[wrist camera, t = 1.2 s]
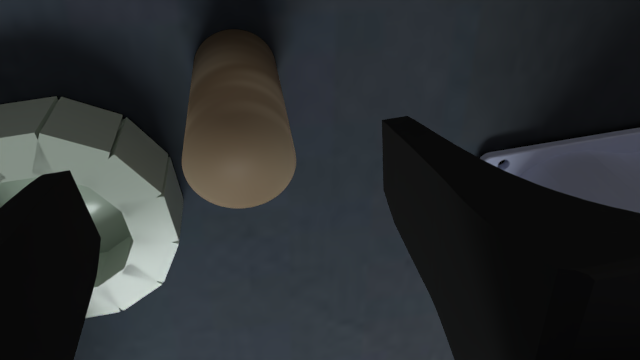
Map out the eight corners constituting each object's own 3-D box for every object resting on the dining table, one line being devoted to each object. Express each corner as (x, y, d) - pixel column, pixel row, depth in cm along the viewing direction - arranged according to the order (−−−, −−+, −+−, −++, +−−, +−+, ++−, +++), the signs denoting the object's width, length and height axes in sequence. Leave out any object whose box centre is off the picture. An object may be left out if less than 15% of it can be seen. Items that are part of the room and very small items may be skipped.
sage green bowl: (146, 82, 17) (137, 117, 15) (200, 254, 22) (198, 297, 20) (-100, 119, 17) (-145, 159, 15) (9, 287, 21) (-14, 335, 19)
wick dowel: (269, 23, 17) (288, 104, 12) (281, 99, 18) (301, 198, 14) (184, 35, 17) (168, 123, 12) (203, 111, 18) (196, 216, 13)
